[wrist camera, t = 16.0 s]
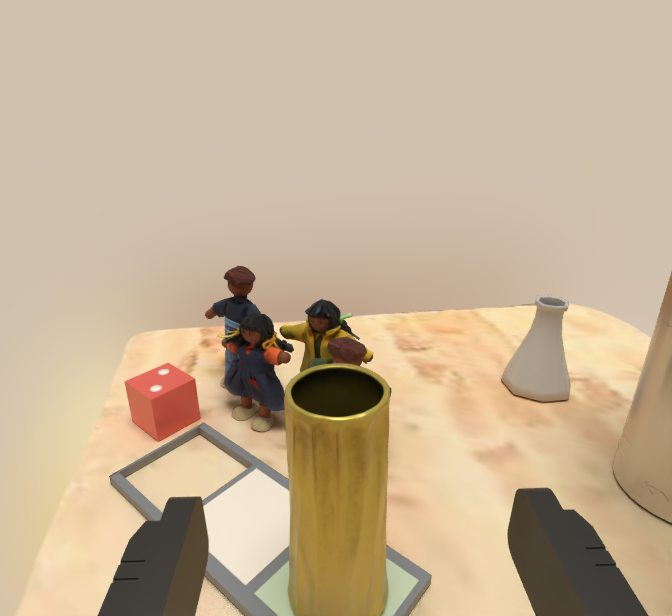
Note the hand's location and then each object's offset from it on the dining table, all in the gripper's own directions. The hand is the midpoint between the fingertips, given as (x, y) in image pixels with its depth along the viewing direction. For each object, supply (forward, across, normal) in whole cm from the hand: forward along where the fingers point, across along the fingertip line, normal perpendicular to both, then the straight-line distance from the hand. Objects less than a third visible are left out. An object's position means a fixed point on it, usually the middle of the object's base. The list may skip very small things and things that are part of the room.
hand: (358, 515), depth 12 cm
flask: (+34, -22, +20) cm, 45 cm away
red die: (+29, +16, +19) cm, 38 cm away
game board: (+16, +6, +19) cm, 25 cm away
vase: (+10, 0, +18) cm, 21 cm away
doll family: (+30, +5, +20) cm, 36 cm away
